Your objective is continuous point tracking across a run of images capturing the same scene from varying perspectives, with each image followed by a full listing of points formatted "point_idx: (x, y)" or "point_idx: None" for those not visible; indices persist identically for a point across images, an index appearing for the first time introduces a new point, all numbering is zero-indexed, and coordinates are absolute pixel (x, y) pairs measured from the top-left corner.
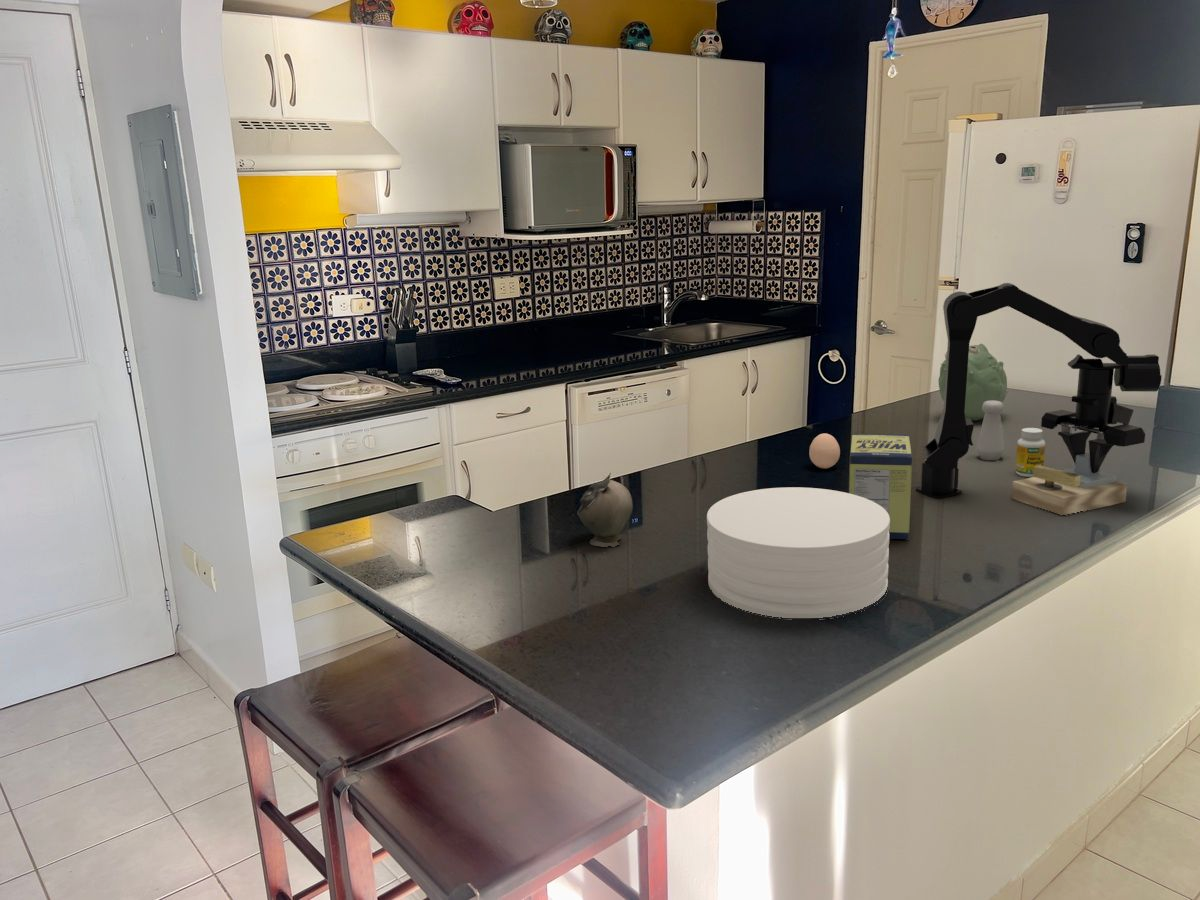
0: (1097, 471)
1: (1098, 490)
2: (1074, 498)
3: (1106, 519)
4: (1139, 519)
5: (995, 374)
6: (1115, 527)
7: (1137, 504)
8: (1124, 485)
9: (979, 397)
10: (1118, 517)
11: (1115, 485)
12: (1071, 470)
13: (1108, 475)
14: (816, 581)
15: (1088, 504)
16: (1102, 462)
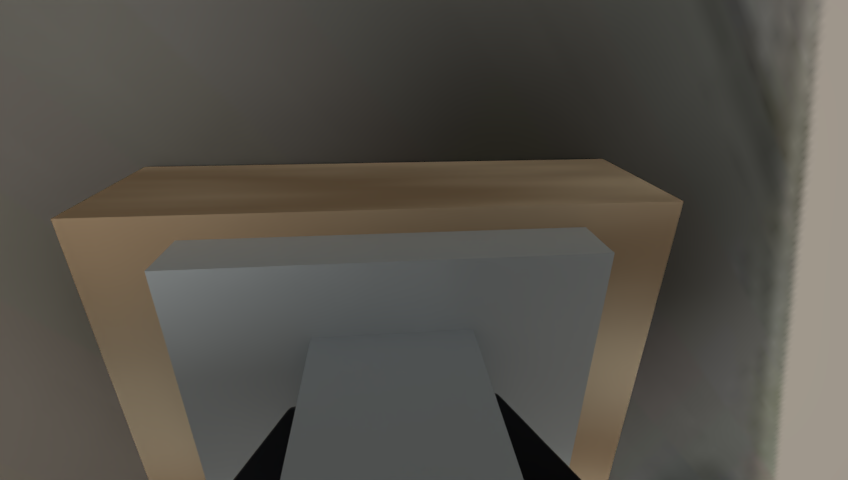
0: (502, 402)
1: (614, 455)
2: None
3: (673, 427)
4: (781, 322)
5: None
6: (741, 457)
7: (676, 132)
8: (670, 227)
9: None
10: (698, 374)
11: (632, 298)
12: (262, 440)
13: (556, 300)
14: None
15: None
16: (574, 474)
